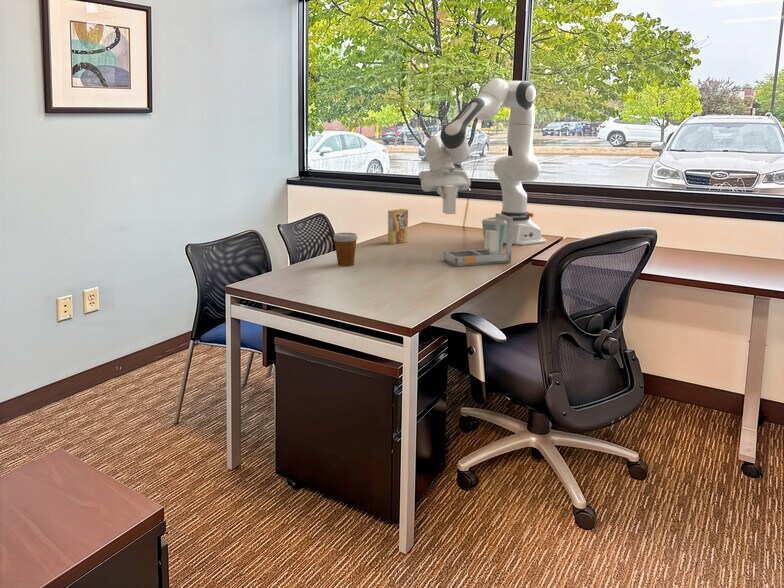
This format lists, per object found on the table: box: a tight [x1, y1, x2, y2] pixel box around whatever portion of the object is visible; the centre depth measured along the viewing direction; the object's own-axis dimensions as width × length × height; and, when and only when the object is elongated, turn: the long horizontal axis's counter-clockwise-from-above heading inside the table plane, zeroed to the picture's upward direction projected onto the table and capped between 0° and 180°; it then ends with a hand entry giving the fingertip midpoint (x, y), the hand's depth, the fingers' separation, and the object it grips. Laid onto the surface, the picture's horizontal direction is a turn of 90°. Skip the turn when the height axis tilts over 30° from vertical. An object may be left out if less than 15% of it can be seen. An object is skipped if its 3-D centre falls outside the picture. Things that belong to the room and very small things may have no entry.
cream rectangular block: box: [442, 185, 457, 215], centre depth 255 cm, size 4×5×11 cm
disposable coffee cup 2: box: [481, 216, 507, 254], centre depth 272 cm, size 11×11×15 cm
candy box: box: [387, 208, 409, 245], centre depth 294 cm, size 9×4×15 cm, turn 129°
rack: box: [443, 213, 513, 267], centre depth 255 cm, size 24×12×18 cm, turn 107°
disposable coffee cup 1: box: [333, 232, 358, 267], centre depth 250 cm, size 10×10×12 cm
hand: (450, 197), depth 254 cm, fingers closed on cream rectangular block, 3 cm apart
